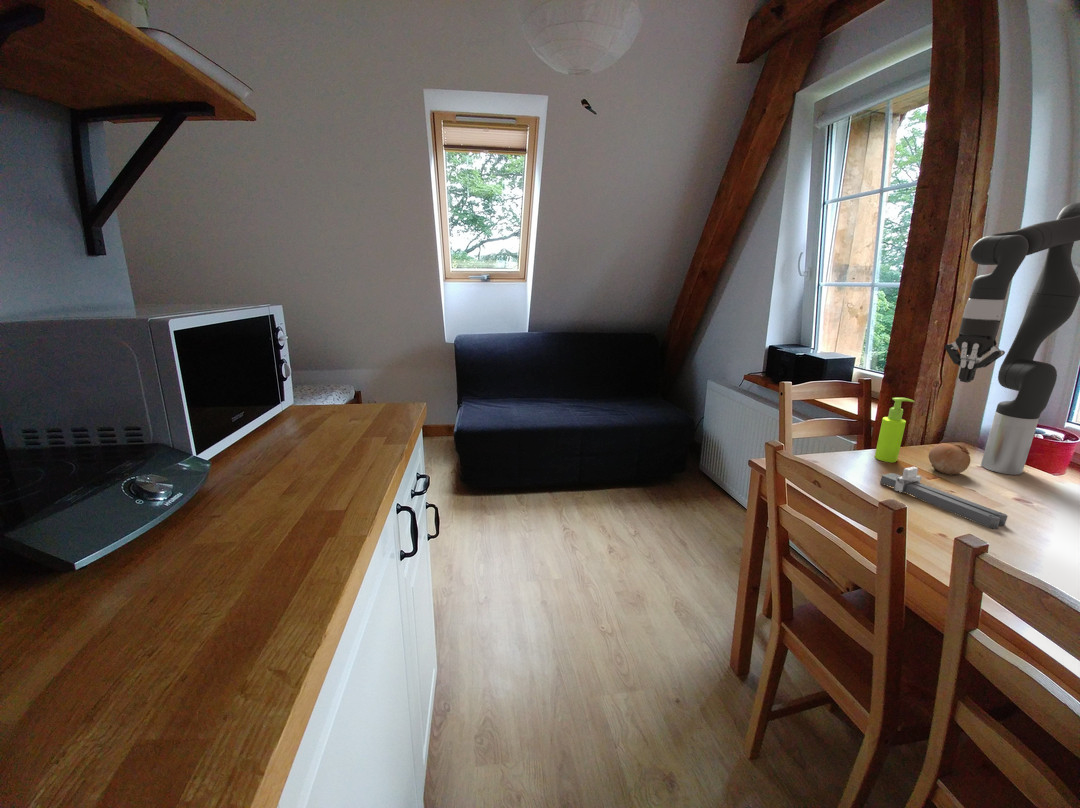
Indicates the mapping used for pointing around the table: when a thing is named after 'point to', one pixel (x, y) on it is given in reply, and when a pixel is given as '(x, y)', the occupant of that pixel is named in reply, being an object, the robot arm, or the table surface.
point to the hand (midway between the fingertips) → (965, 381)
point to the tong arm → (965, 502)
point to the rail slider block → (907, 478)
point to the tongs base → (945, 502)
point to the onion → (949, 458)
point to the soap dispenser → (891, 433)
